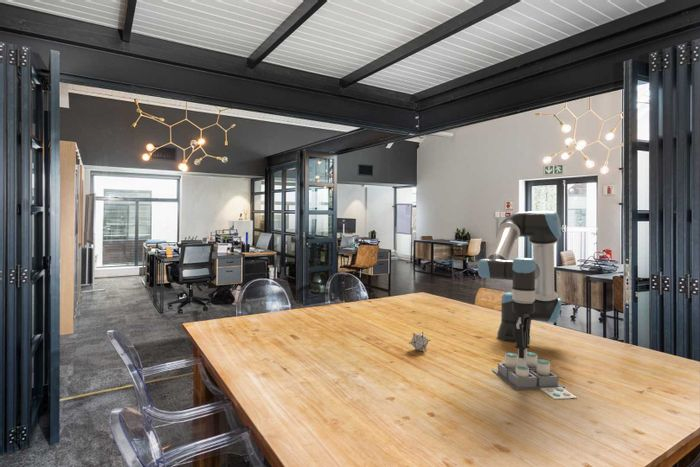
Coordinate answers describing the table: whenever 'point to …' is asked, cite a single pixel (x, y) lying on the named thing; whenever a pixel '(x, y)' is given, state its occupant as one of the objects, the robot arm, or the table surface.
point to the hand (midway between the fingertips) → (522, 366)
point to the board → (526, 379)
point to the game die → (419, 341)
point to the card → (558, 393)
